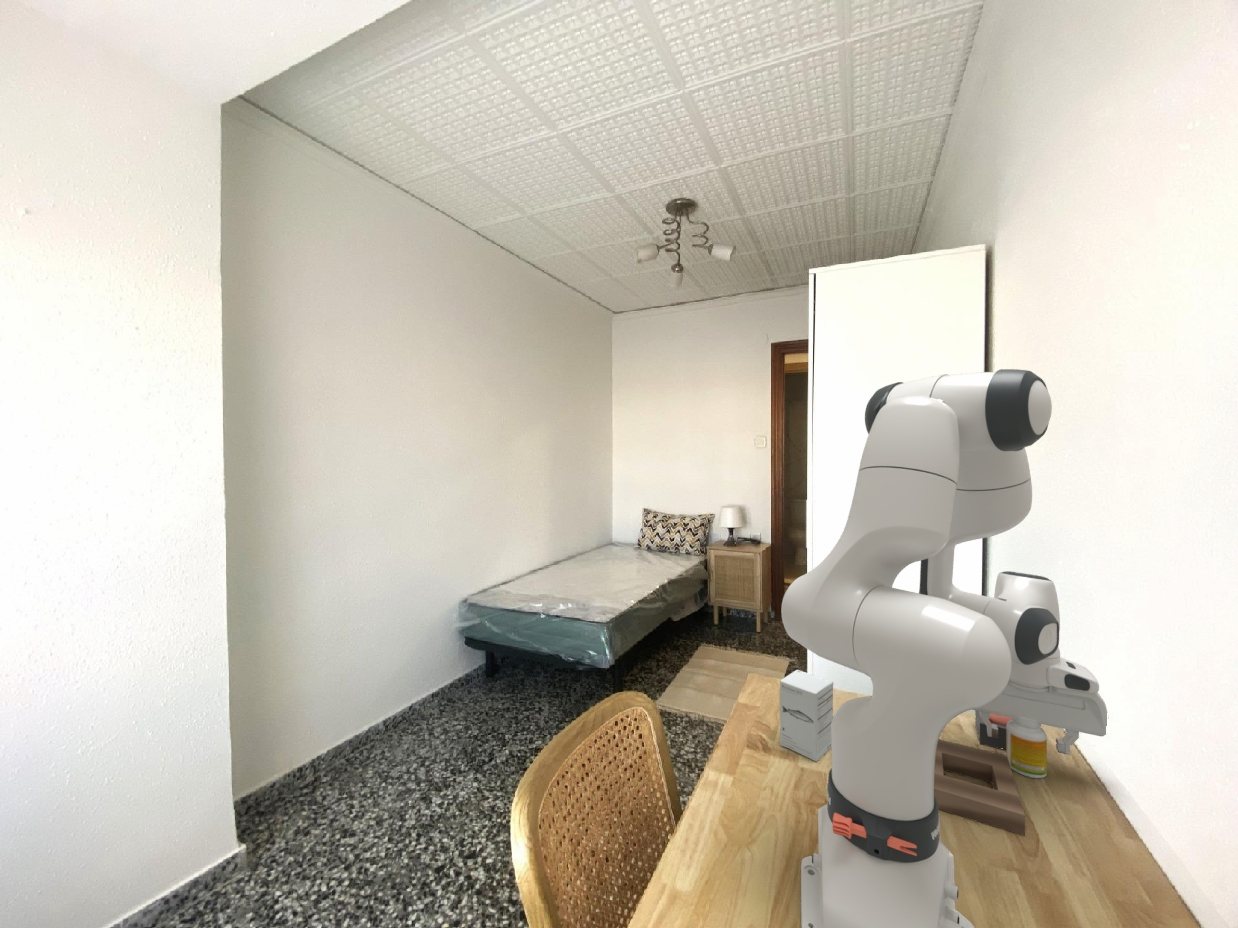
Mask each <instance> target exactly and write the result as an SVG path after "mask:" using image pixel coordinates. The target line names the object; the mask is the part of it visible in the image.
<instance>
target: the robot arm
mask: <svg viewBox="0 0 1238 928" xmlns="http://www.w3.org/2000/svg"><path fill="white" fill-rule="evenodd" d="M1050 395H1051V394H1050V393H1049V390H1048V388H1047V385H1046V382H1045V381H1044V379H1043V378H1041V377H1040V376H1039V375H1037V374H1036V373H1034V372H1033V371H1031V370H1027V369H1019V368H1018V369H1015V368H1013V369H1012V368H1011V369H1009V368H1007V369H1006V368H1005V369H1003V368H1001V369H999V370H997V371H984V372H967V373H965V372H964V373H956V374H947V373H946V374H938V375H934V376H927V377H922V378H918V379H913V380H910V381H907V382H903V381H898V382H895V383H891V384H888V385H885V386H883V387H881V388H878V389H876V391H875V392H874V393H873V395H872V396H871V397H870V398H869V400H868V402H867V404H866V406H865V411H864V424H865V428H866V431H867V434H868V435H867V438H866V441H865V444H864V447H863V450H862V455H861V458H860V462H859V467H858V472H857V476H856V477H857V478H856V482H855V487H854V491H853V496H852V499H851V500H852V501H851V506H850V510H849V513H848V516H847V521H846V523H845V526H844V528H843V531H842V533H841V535H840V537H839V539H838V541H837V542H836V544H835V545H834V546H833V548H832V549H831V551H830V552H829V554H827V556H826V557H824V560H822V561H821V562H820V563H819V564H818V565H816V567H814V568H813V569H812V570H810V571H809V572H807V573H804V574H803V575H801V576H799V577H797V578H796V579H794V581H792V582H791V583H790V585H789V586H788V588H786V591H785V593H784V594H783V598H782V602H781V611H780V612H781V620H782V624H783V627H784V630H785V632H786V634H787V635H788V637H790V639H792V640H793V641H795V642H797V644H799V645H801V646H802V647H803V648H805V649H807V650H808V651H810V652H812V653H813V654H815V655H816V656H817V657H819V658H823V659H825V660H827V661H830V662H833V663H835V664H837V665H841V666H843V667H845V668H848V669H851V670H853V671H856V672H857V673H861V674H864V675H865V676H867V677H869V678H870V680H871V683H872V695H868V696H867V695H866V696H860V697H859V696H858V697H855V698H851V699H848V700H847V701H845V702H844V703H841V705H840V706H838V708H837V709H836V711H835V713H833V719H832V722H831V748H830V750H831V768H830V769H829V771H828V776H827V777H828V779H827V783H826V798H827V803H826V804H824V805H822V806H821V807H820V808H818V809H817V813H818V815H817V823H818V827H817V829H818V853H815V852H813V853H812V855H809V856H805V857H803V858H802V859H801V862H800V928H975V926H974V925H973V924H972V922H971V921H970V920H968V919H967V918H966V917H965V916H964V915H963V914H962V913H961V912H960V911H958V910H957V909H956V903H955V901H956V902H958V901H959V900H958V899H959V886H957V885H956V884H955V867H954V864H955V863H954V855H953V854H952V852H951V851H950V850H949V849H948V847H947V846H946V845H945V844H944V843H943V841H942V840H941V838H940V829H941V817H940V810H939V809H938V803H937V800H936V798H935V796H934V772H935V758H936V748H937V743H938V740H939V739H940V736H941V734H942V733H943V731H944V729H945V728H946V727H947V726H948V725H949V723H950V722H951V721H952V720H953V719H955V718H957V717H958V716H960V715H962V714H964V713H966V712H968V711H971V710H973V711H975V710H976V711H979V713H980V717H981V718H982V720H983V721H984V723H985V725H986V726H987V734H988V736H989V737H993V738H998V728H997V725H995V724H991V722H990V721H989V719H990V713H991V714H996V715H1000V716H1005V717H1010V718H1015V719H1018V718H1019V717H1025V718H1029V719H1034V720H1037V723H1039V724H1041V725H1043V726H1050V727H1053V728H1059V729H1064V730H1065V732H1066V734H1064V736H1063V737H1062V738H1060V737H1059V738H1058V737H1055V742H1056V744H1055V748H1056V750H1057V753H1061V754H1064V755H1068V756H1069V755H1071V747H1072V745H1074V744H1075V742H1077V740H1078V739H1079V738H1080V733H1082V734H1088V735H1093V736H1097V737H1104V736H1106V735H1107V734H1106V726H1107V713H1108V709H1107V705H1106V703H1105V701H1104V699H1103V698H1102V696H1101V695H1100V693H1099V691H1100V684H1099V681H1098V680H1097V678H1096V676H1095V675H1094V674H1093V673H1092V672H1091V670H1089V669H1088V668H1087V667H1086V666H1085V665H1082V664H1079V663H1077V662H1074V661H1070V660H1069V659H1066V658H1065V657H1064V658H1063V657H1061V650H1060V648H1059V645H1060V630H1061V617H1060V616H1061V615H1060V605H1059V599H1058V594H1057V590H1056V586H1055V583H1054V581H1053V580H1052V579H1049V578H1048V577H1045V576H1043V575H1037V574H1030V573H1024V572H1017V571H1009V570H1007V571H1002V572H998V574H997V575H996V582H995V587H994V594H993V595H994V597H991V596H986V595H982V594H977V593H971V592H968V591H967V592H966V591H963V590H960V589H959V588H957V587H956V586H955V585H954V584H953V575H954V558H955V548H956V545H960V544H963V543H967V542H970V541H976V540H980V539H986V538H991V537H993V536H996V535H999V534H1002V533H1005V532H1007V531H1009V530H1011V529H1013V528H1015V527H1016V526H1018V525H1019V524H1021V523H1022V522H1023V521H1024V519H1026V517H1027V516H1028V515H1029V513H1030V512H1031V510H1032V504H1033V484H1032V477H1031V476H1032V475H1031V469H1030V464H1029V463H1030V462H1029V459H1028V455H1027V451H1026V448H1028V447H1031V446H1032V445H1034V444H1035V443H1037V442H1038V441H1039V440H1040V439H1041V438H1042V437H1043V436H1044V435H1045V434H1046V432H1047V430H1048V427H1049V423H1050V421H1051V417H1052V411H1053V405H1052V403H1053V402H1052V400H1051V396H1050ZM916 562H920V568H919V569H920V570H919V571H920V572H919V591H918V593H917V592H914V591H909V590H906V589H905V590H904V589H900V588H896V587H893V585H894V582H895V581H896V579H897V578H898V575H899V574H900V572H902V571H903V570H904V569H906V567H908V566H909V565H910V564H913V563H916ZM988 718H989V719H988Z"/></svg>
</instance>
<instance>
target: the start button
mask: <svg viewBox="0 0 1238 928" xmlns="http://www.w3.org/2000/svg"><path fill="white" fill-rule="evenodd" d="M988 719H989V718H988ZM1010 720H1012V718H1010V717H1005V716H1000V715H996V714H991V713H990V719H989V721H990V722H991V723H995V724H999V725H1004V726H1006V724H1007V722H1008V721H1010Z"/></svg>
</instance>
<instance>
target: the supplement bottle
mask: <svg viewBox="0 0 1238 928" xmlns="http://www.w3.org/2000/svg"><path fill="white" fill-rule="evenodd" d="M1047 739H1048V738H1047V734H1046V732H1045V730H1044V729H1043V728H1042V724H1039V723H1037V720H1034V719H1029V718H1025V717H1019V718H1018V719H1015V718H1012V720H1010V721H1008V722H1007V724H1006V750H1005V752H1006V754H1005V755H1006V756H1007V758H1008V761H1009V764H1010V767H1011V770H1012V771H1015V772H1016V773H1017V774H1020V775H1022V776H1025V777H1028V778H1032V779H1043V778H1046V776H1047V774H1048V768H1047V767H1048V762H1047V760H1048V757H1047V756H1048V755H1047V752H1048V751H1047V744H1048V743H1047V742H1048V741H1047Z"/></svg>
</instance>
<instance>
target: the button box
mask: <svg viewBox="0 0 1238 928" xmlns="http://www.w3.org/2000/svg"><path fill="white" fill-rule="evenodd" d="M974 711H975V713H974V714H975V715H974V716H976V717H974V719H975V723H974V724H975V728H976V733H977V737H978V741H979V745H983V746H987V747H991V748H995V747H998V748H997V749H999V748H1003V749H1006V726H1004V725H999V724H995V723H991V724H995V725H997V728H998V738H993V737H989V736H988V734H987V726H986V725H985V723H984V721H983V720H982V718H981V717H980V713H979V711H976V710H974ZM1003 749H1002V750H1003Z"/></svg>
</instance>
